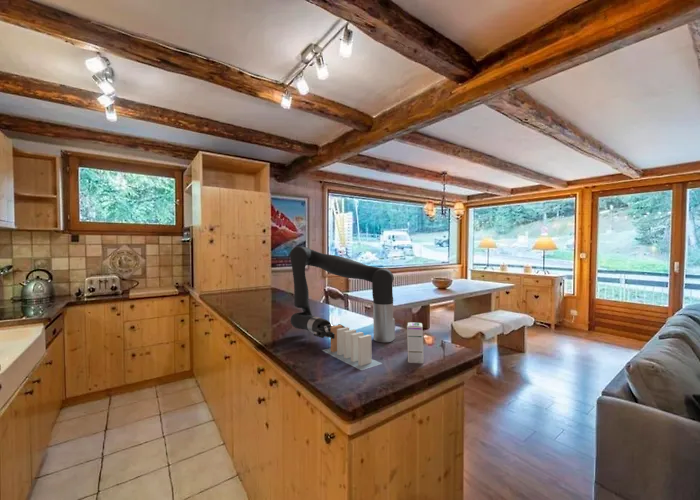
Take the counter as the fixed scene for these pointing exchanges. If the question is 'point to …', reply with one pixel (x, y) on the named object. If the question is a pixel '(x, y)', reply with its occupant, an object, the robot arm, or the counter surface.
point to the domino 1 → (334, 341)
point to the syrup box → (415, 342)
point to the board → (348, 361)
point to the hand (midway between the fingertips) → (340, 334)
